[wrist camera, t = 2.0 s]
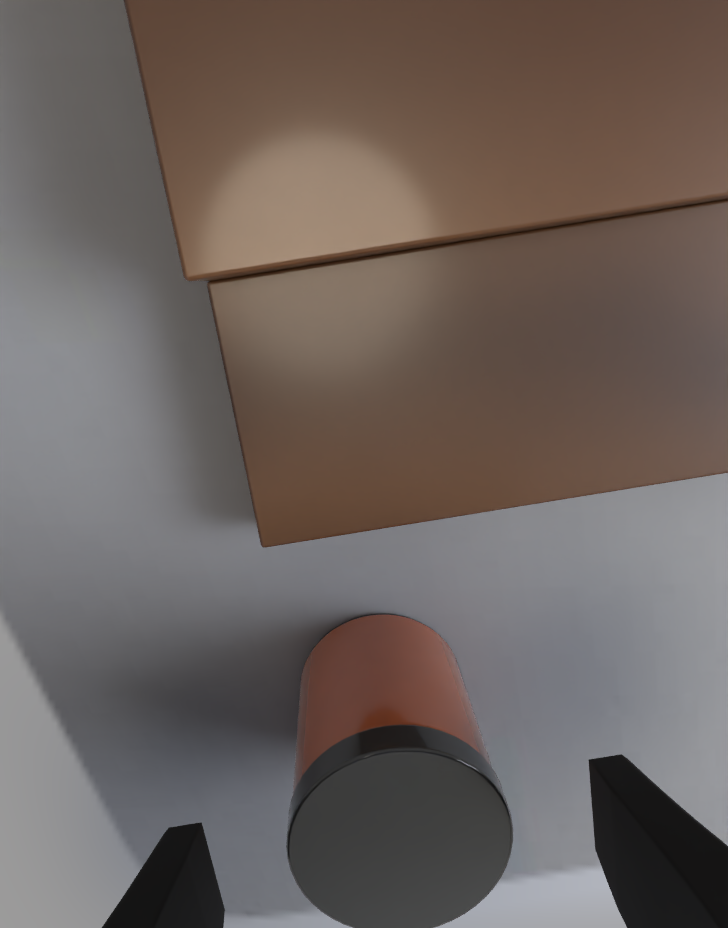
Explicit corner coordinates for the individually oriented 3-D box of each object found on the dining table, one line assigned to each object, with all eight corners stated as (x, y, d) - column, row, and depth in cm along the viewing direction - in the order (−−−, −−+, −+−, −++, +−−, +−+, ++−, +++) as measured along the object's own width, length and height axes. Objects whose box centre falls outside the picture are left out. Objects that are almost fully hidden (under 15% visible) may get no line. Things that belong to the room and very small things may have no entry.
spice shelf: (734, 448, 16) (938, 535, 11) (267, 524, 16) (237, 649, 10) (730, -494, 11) (1078, -1163, 6) (79, -396, 11) (-139, -987, 6)
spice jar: (289, 747, 17) (274, 927, 13) (309, 602, 16) (301, 738, 12) (446, 761, 18) (490, 942, 13) (475, 620, 17) (534, 759, 12)
